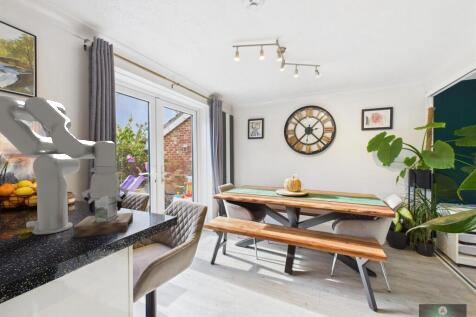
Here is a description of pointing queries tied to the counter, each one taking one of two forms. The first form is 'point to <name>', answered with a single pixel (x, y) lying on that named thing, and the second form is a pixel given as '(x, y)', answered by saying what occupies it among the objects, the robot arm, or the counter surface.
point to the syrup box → (105, 209)
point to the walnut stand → (102, 226)
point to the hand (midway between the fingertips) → (106, 211)
